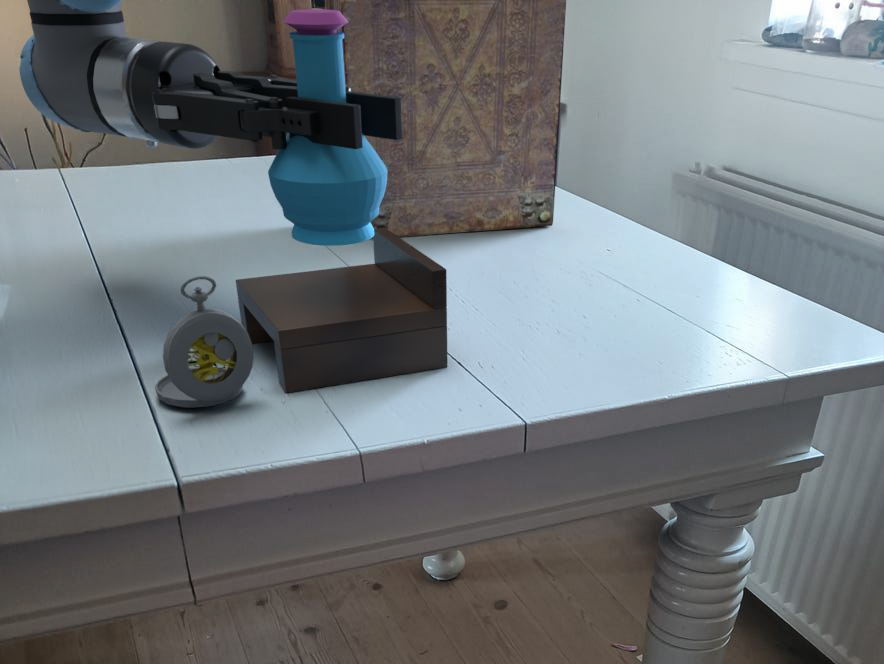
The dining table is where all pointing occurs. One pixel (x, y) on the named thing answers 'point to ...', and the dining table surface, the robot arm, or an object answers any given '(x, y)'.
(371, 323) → the shelf
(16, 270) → the dining table surface
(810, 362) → the dining table surface
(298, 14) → the perfume bottle
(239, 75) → the robot arm
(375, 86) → the book
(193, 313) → the pocket watch
